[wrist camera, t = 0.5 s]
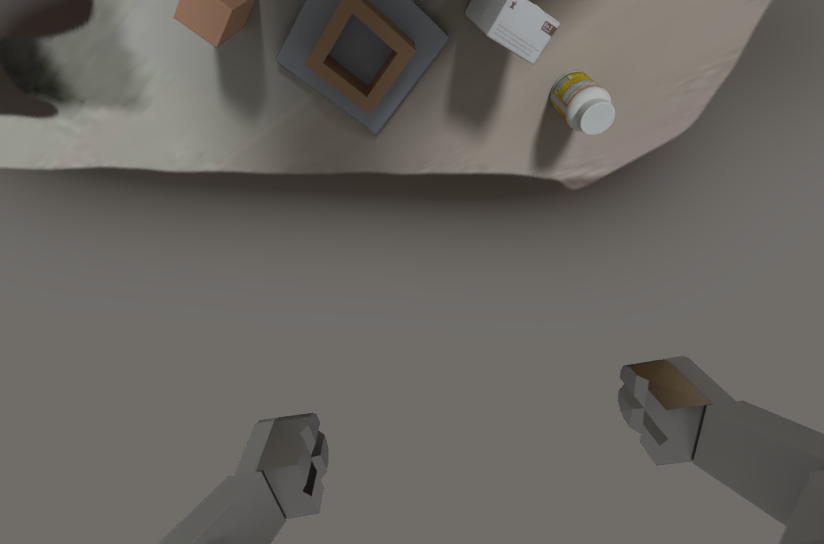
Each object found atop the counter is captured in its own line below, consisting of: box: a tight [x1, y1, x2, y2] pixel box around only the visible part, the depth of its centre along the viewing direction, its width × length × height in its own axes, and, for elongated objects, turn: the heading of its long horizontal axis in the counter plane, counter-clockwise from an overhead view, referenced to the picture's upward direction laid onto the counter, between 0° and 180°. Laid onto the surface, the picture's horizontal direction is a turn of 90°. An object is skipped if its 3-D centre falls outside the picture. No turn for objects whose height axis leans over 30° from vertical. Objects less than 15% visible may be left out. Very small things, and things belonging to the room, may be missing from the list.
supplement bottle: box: [551, 71, 615, 135], centre depth 48 cm, size 5×5×10 cm
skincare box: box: [465, 0, 560, 65], centre depth 41 cm, size 6×4×12 cm
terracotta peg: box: [174, 0, 256, 48], centre depth 39 cm, size 4×4×10 cm
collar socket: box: [276, 0, 449, 134], centre depth 45 cm, size 15×15×6 cm
